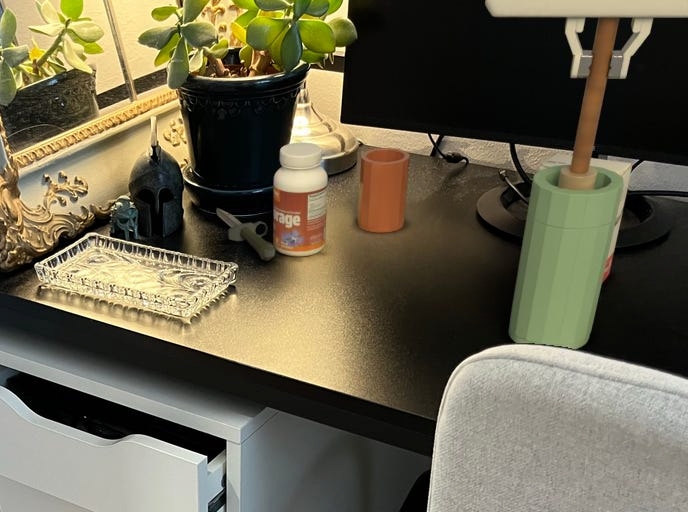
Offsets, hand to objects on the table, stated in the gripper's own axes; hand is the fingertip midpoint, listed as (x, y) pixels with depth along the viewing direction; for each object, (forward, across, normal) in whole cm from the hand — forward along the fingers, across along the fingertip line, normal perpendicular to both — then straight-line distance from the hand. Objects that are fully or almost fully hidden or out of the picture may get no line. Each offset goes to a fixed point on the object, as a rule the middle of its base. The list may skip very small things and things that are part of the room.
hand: (597, 76), depth 85 cm
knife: (+22, -38, +20) cm, 48 cm away
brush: (+15, 0, 0) cm, 15 cm away
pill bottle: (+23, -28, +18) cm, 41 cm away
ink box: (+24, +2, +15) cm, 28 cm away
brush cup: (+23, -20, +27) cm, 41 cm away
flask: (+23, 0, 0) cm, 23 cm away
